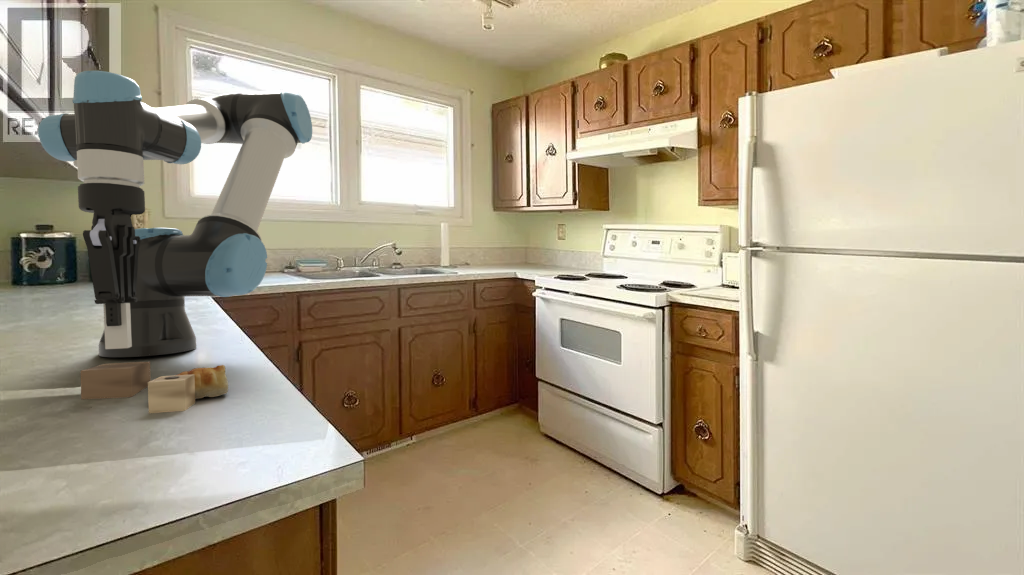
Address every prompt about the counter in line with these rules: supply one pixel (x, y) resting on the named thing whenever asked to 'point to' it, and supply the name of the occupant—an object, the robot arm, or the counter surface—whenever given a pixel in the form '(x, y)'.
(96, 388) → the walnut block
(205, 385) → the pastry
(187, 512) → the counter surface
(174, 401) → the beech block
